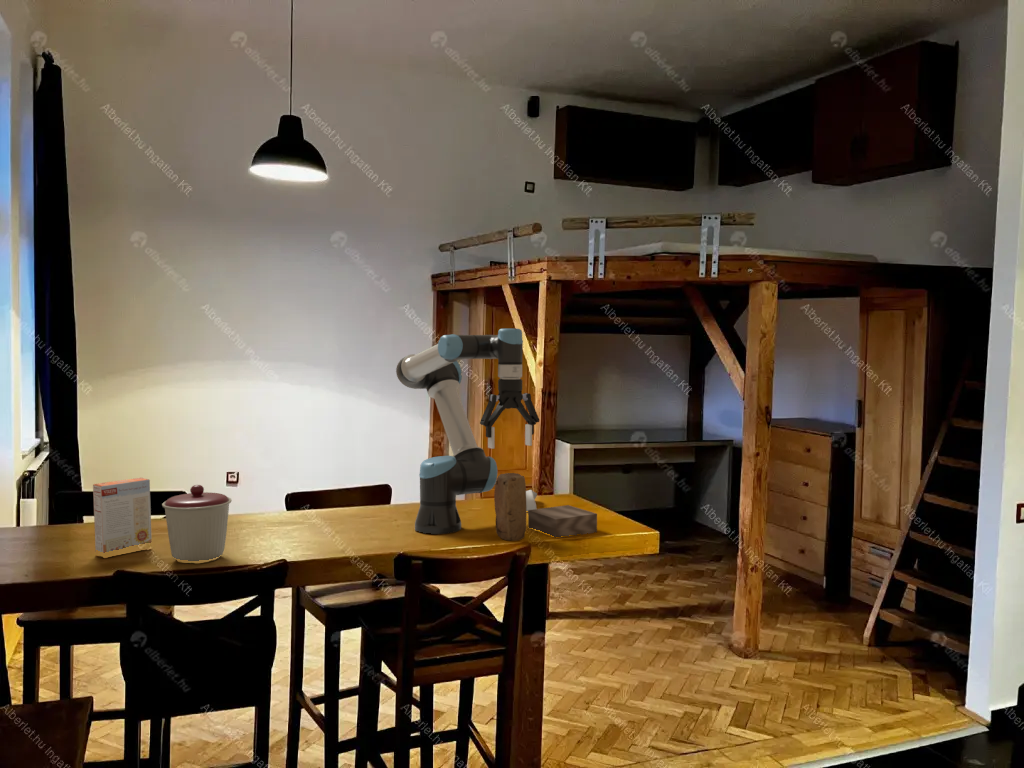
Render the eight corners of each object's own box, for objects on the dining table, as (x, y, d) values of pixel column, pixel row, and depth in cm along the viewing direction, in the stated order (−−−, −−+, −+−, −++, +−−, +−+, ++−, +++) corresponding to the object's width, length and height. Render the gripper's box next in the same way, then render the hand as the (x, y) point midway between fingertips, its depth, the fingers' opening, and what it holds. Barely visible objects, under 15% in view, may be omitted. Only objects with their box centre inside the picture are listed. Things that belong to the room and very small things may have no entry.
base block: (555, 538, 252) (556, 519, 252) (528, 528, 266) (528, 510, 265) (596, 532, 260) (597, 513, 260) (568, 522, 274) (568, 505, 274)
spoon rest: (503, 501, 313) (503, 482, 313) (533, 500, 315) (533, 481, 315) (515, 513, 290) (515, 493, 289) (547, 512, 292) (547, 492, 292)
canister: (226, 548, 239) (225, 477, 238) (237, 563, 223) (236, 487, 222) (160, 556, 230) (158, 482, 229) (166, 572, 214) (165, 493, 213)
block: (528, 540, 250) (528, 475, 249) (506, 543, 246) (506, 477, 245) (512, 532, 259) (512, 470, 258) (491, 535, 256) (491, 472, 255)
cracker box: (142, 546, 241) (141, 476, 240) (152, 549, 237) (151, 478, 236) (94, 555, 230) (92, 483, 229) (103, 559, 226) (101, 485, 225)
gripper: (481, 379, 241) (481, 450, 242) (550, 377, 254) (550, 445, 255) (469, 378, 247) (469, 447, 248) (537, 377, 260) (536, 442, 261)
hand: (510, 446), depth 251 cm, fingers open, 13 cm apart
